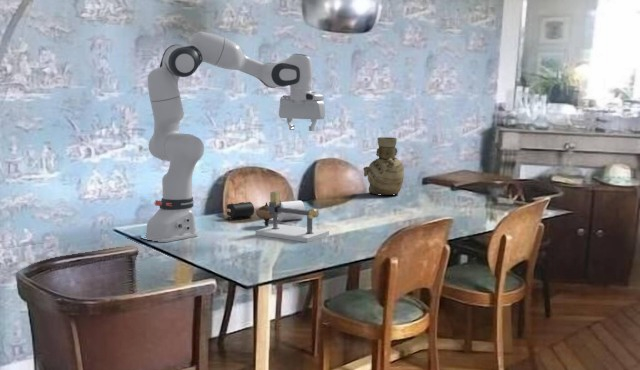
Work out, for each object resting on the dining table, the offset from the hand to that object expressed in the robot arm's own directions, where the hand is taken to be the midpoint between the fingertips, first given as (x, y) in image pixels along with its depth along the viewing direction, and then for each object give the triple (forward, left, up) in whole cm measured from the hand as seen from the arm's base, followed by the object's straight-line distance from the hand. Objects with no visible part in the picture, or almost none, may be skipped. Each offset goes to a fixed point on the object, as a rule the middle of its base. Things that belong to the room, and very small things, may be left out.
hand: (301, 130), depth 279 cm
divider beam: (-15, -6, -38) cm, 41 cm away
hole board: (-16, -6, -39) cm, 42 cm away
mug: (+8, +10, -39) cm, 41 cm away
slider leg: (-16, +2, -37) cm, 40 cm away
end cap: (0, +32, -39) cm, 51 cm away
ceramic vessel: (+92, +9, -39) cm, 100 cm away
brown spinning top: (-8, +12, -39) cm, 42 cm away
